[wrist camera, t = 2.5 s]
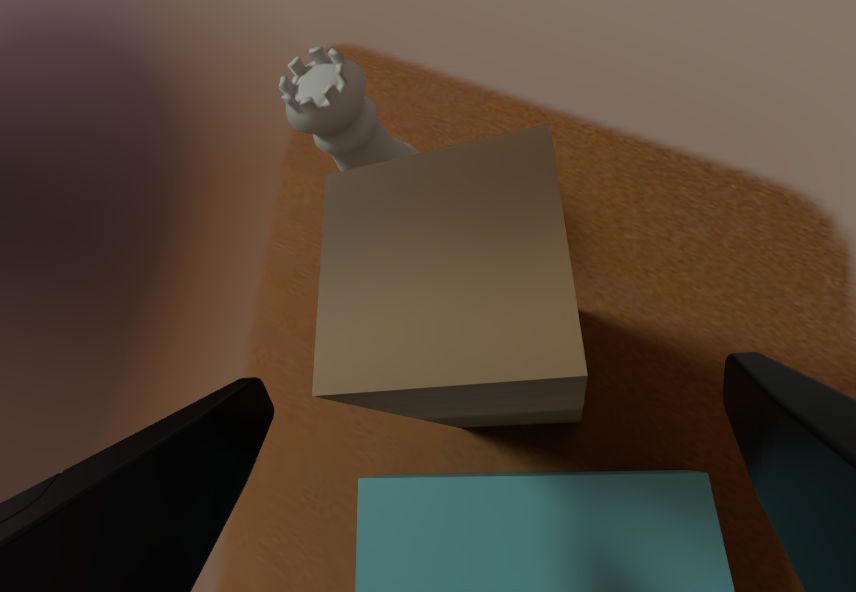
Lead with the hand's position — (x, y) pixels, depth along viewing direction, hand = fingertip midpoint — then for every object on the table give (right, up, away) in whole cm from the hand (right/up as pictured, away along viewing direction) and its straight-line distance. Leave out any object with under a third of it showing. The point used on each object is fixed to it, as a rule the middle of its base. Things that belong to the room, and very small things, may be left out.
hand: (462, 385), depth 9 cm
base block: (+3, -8, +7) cm, 11 cm away
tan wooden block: (+3, -1, +9) cm, 10 cm away
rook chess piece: (-2, +7, +14) cm, 16 cm away
